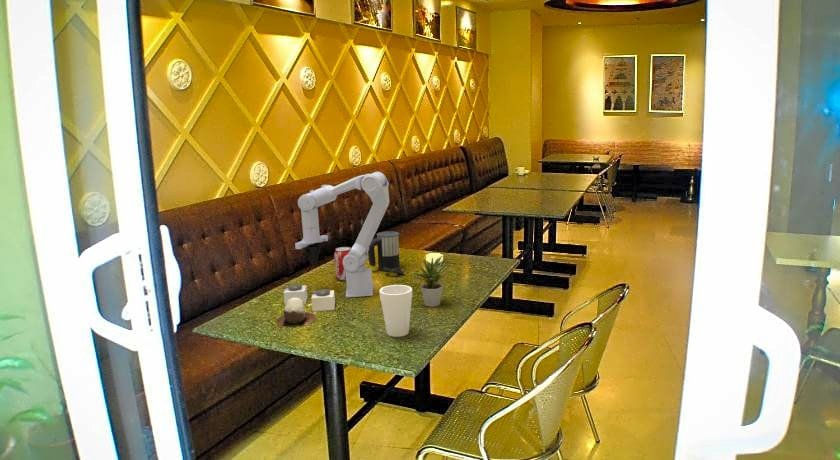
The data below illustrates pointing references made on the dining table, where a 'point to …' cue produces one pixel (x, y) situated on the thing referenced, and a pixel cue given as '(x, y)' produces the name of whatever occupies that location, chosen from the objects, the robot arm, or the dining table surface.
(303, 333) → the dining table surface
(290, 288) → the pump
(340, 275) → the soda can
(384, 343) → the dining table surface
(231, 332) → the dining table surface
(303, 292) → the square base with knob
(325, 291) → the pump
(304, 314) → the skull
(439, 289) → the house plant
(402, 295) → the foam cup
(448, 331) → the dining table surface
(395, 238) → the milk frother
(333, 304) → the off-white square plinth
